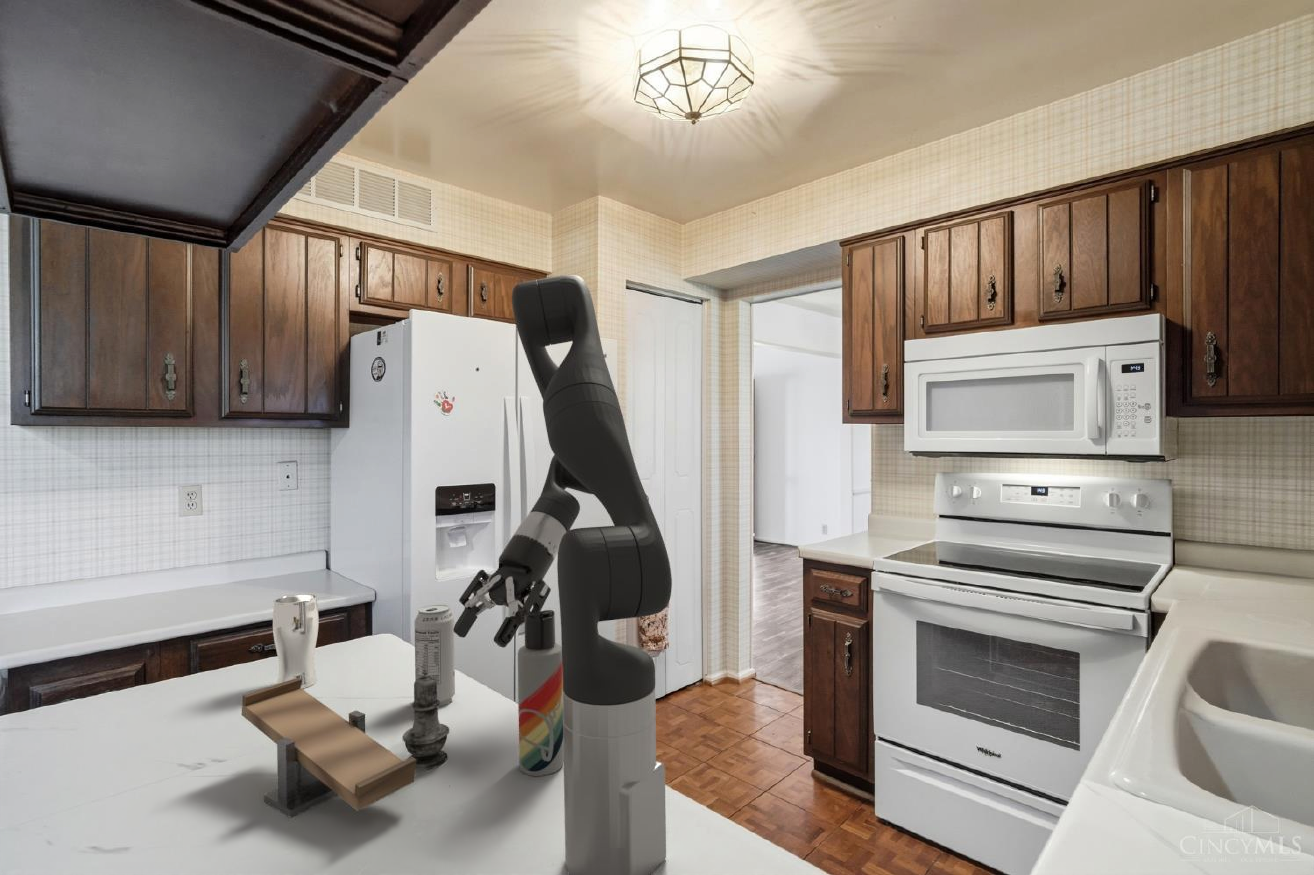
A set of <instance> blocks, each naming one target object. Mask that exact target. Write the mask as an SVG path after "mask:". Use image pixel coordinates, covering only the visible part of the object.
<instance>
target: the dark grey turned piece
mask: <svg viewBox="0 0 1314 875" xmlns="http://www.w3.org/2000/svg"><path fill="white" fill-rule="evenodd" d="M427 673H428V672H427V670H426V669H425V670H424V671H423V674H424V675H422V676H421V677H419V678H418V679H416V681H414V683H413V703H412V704H411V709H412V710H413V724H412V727H411V728H409V729H408V730H406V731H405V732H404V733H403V735H402V737H401V738H402V739H401V740H402V741H403V742H404V745H405V748H406V751H407V752H408V753H409V754H411V755H410V756H408V758H410V757H413V758H415V759H416V770H415V771H427V770H432V769H434V768H437V767H439V766H441V765H443V764H444V763H446V761H447V760H448V753H447V752H446V751H444V750H443V747H445V744H446V742H447V740H448V739H447V738H448V735H449V734H450V732H451V731H450V728H449V726H448V725H447V724H444V723H440V721H439V707H438V706H439V705H440V701H439V700H437V681H436V679H435V677H433V676H430V675H427Z"/></svg>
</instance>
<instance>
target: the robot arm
mask: <svg viewBox="0 0 1314 875" xmlns="http://www.w3.org/2000/svg"><path fill="white" fill-rule="evenodd" d="M511 294H512V295H511V300H512V301H511V302H512V303H511V304H512V311H513V317H514V322H515V325H516V329H517V333H518V335H519V339H520V342H521V344H522V348H523V350H524V354H525V356H526V359H527V361H528V365H529V367H530V370H531V373H532V376H533V378H534V381H535V383H536V386H537V388H538V391H539V393H540V396H541V398H542V410H543V417H544V423H545V429H546V433H547V439H548V444H549V447H550V449H551V450H552V451H551V452H553V456H552V457H551V460H550V463H549V468H548V470H547V475H546V479H545V482H544V484H543V488H542V491H541V493H540V496H539V498H538V499H537V500H536V502H535V504H534V505H533V507H532V509H531V510H530V511H529V513H528V514H527V516H526V517H525V518H524V519H523V521H522V522H521V523H520V524H519V526H518V527H517V529H516V531H514V533H513V535H512V536H511V538H510V540H509V541H508V543H507V545H506V546H505V547H504V549H503V551H502V553H501V554H500V555H499V557H498V568H497V570H495V571H494V572H493V573H492V574H490V573H488V572H486V571H485V570H484V569H480V570H479V571H478V572H477V573H476V575H475V576H474V578H473V579H472V580H471V581H470V583H469V584H468V586H467V588H466V589H465V590H464V592H463V593H462V594H461V596H460V598H459V600H458V602H459V603H460V604H462V605H463V606H464V609H463V611H462V613H461V614H460V616H459V617H458V619H457V621H456V622H455V623H454V629H453V631H454V634H456V635H457V636H458V637H459V638H466V637H467V635H468V633H469V632H470V630H471V629H472V627H473V626H474V624H475V622H476V620H477V619H478V616H479V615H480V614H482V613H483V612H484V611H486V610H491V609H493V608H495V606H500V607H501V606H505V607H507V608H508V616H505V619H504V620H503V622H502V624H500V627H499V628H498V630H497V631H496V633H495V635H494V637H493V643H495V644H496V645H497V646H498V647H501V648H506V647H507V646H508V645H509V643H511V642H512V639H513V638H514V635H515V634H516V633H517V631H518V629H519V627H520V626H522V625H525V614H528V613H534V612H539V611H542V609H543V607H544V605H545V603H546V601H547V598H549V595H550V593H551V590H552V589H551V587H550V586H549V585H548V584H547V583H546V581H545V580H544V578H545V576H546V575H547V573H548V572H549V569H550V567H551V566H552V564H553V562H554V561H555V559H556V557H557V563H556V566H557V567H556V568H557V572H556V573H557V586H558V598H559V600H558V601H559V614H560V615H559V616H560V628H561V630H560V631H561V633H560V637H561V639H560V640H561V647H562V667H563V744H564V762H563V797H564V798H563V799H564V800H563V802H564V805H563V806H564V807H563V810H564V812H563V813H564V846H565V847H564V849H565V851H564V852H565V855H564V856H565V858H564V859H565V868H566V871H567V873H568V875H650V874H652V873H653V872H654V871H655V870H656V868H658V867H659V866H660V865H661V864H662V863H663V862H664V860H666V859H667V829H666V828H667V827H666V826H667V824H666V823H667V822H666V819H667V818H666V817H667V816H666V815H667V814H666V766H665V764H664V763H663V762H661V761H658V760H657V731H656V730H657V728H656V727H657V725H656V724H657V722H656V721H657V719H656V715H657V712H656V711H657V710H656V705H657V704H656V665H655V662H654V659H653V657H652V656H651V655H650V654H649V653H648V652H646V651H645V650H643V649H641V648H638V647H636V646H634V645H629V644H624V643H621V642H617V641H613V640H611V639H608V638H606V637H604V636H602V635H600V633H599V629H598V625H599V623H600V622H608V621H617V620H626V619H635V618H640V617H643V618H644V617H648V616H653V615H656V614H659V613H661V612H663V611H664V610H665V609H666V608H667V606H668V605H669V603H670V599H671V596H672V588H673V587H672V586H673V579H672V570H671V564H670V563H671V562H670V558H669V554H668V552H667V547H666V544H665V541H664V537H663V536H662V533H661V529H660V527H659V524H658V522H657V519H656V516H655V515H654V511H653V509H652V507H651V505H650V501H649V498H648V496H647V494H646V491H645V489H644V486H643V484H642V481H641V478H640V476H639V473H638V470H637V466H636V463H635V460H634V456H633V453H632V449H631V445H630V442H629V437H628V432H627V427H626V425H625V424H626V423H625V419H624V416H623V412H622V408H621V404H620V402H619V398H618V395H617V392H616V388H615V386H614V383H613V380H612V377H611V375H610V374H611V373H610V371H609V368H608V364H607V362H606V358H605V355H604V351H603V346H602V342H601V341H602V340H601V336H600V331H599V327H598V326H599V325H598V322H597V316H596V311H595V306H594V302H593V298H592V295H591V291H590V290H589V287H588V285H587V283H586V281H585V280H584V279H583V278H582V277H581V276H579V275H576V274H563V275H557V276H550V277H545V278H540V279H533V280H528V281H522V282H520V283H517V284H515V286H514V287H513V289H512V293H511ZM569 342H571V346H570V348H569V350H568V352H567V353H566V355H565V357H564V358H563V360H562V361H561V363H560V364H559V366H558V364H556V362H554V360H553V359H552V357H551V356H550V355H549V352H548V351H547V348H546V347H549V346H552V345H558V344H565V343H569ZM566 489H570V490H571V489H572V490H573V491H577V492H581V493H584V494H588V495H594V497H595V498H596V499H597V500H598V501H599V503H601V504H602V506H603V507H604V509H605V510H606V512H607V514H608V516H609V517H610V519H611V522H612V523H613V525H608V526H605V525H604V526H591V527H578V528H573V529H571V528H572V526H573V525H574V523H575V521H576V520H577V518H578V516H579V513H580V510H581V505H580V503H579V501H578V499H577V498H576V497H575V496H574V495H573V494H572V493H570V492H568V490H566ZM472 594H473V596H472ZM487 594H488V596H487ZM470 597H472V598H470ZM479 602H481V603H480V604H479ZM477 604H478V605H477Z"/></svg>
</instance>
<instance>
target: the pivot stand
mask: <svg viewBox="0 0 1314 875" xmlns="http://www.w3.org/2000/svg"><path fill="white" fill-rule="evenodd" d="M348 722H349V723H351V724H352V725H354V726H355V727H356V728H358V729H359V730H361V731H362V732H363V733H365V734H366V713H363V712H361V711H359V710H354V711H351V712H349V713H348ZM276 751H277V752H276V754H277V756H276V758H277V760H276V761H277V762H276V766H277V788H276V789H273V790H272V791H269V792H268V793H265V794H263V802H264V803H265V804H267V805H269V806H270V807H272V808H274V809H276V810H277V811H279V812H280V813H282V814H284V815H285V816H287V817H288V818H293V817H295V816H297V815H300V814H301V813H303V812H305V811H307V810H309V809H311V808H313V807H315V806H317V805H319V804H322V803H324V802H325V801H328V800H330V799H332V798H334V797H335V796H338V795H337V794H336V793H335V792H334V791H333V790H331V789H330V788H329V787H328V786H326V785H325V784H324V783H323V782H322V781H320V780H319V779H318V778H317V777H316V776H314V775H313V774H312V773H311V772H310V771H308V770H307V769H306V768H305V767H304V766H302V765H301V764H300V763H299V762H298V761H296V760H295V742H294V741H292V740H290V739H288V738H283V739H281V740H278V741H277V744H276Z"/></svg>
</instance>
